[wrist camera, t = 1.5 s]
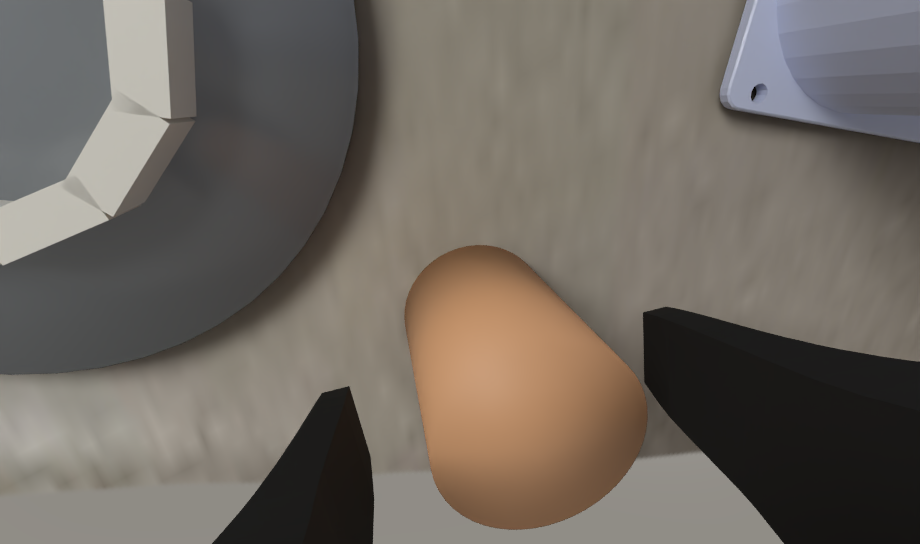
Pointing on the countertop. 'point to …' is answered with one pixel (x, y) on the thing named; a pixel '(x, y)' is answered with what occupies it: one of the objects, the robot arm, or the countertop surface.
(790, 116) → the robot arm
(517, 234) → the countertop surface
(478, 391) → the tan rounded block
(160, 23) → the tray
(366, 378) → the countertop surface
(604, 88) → the countertop surface
